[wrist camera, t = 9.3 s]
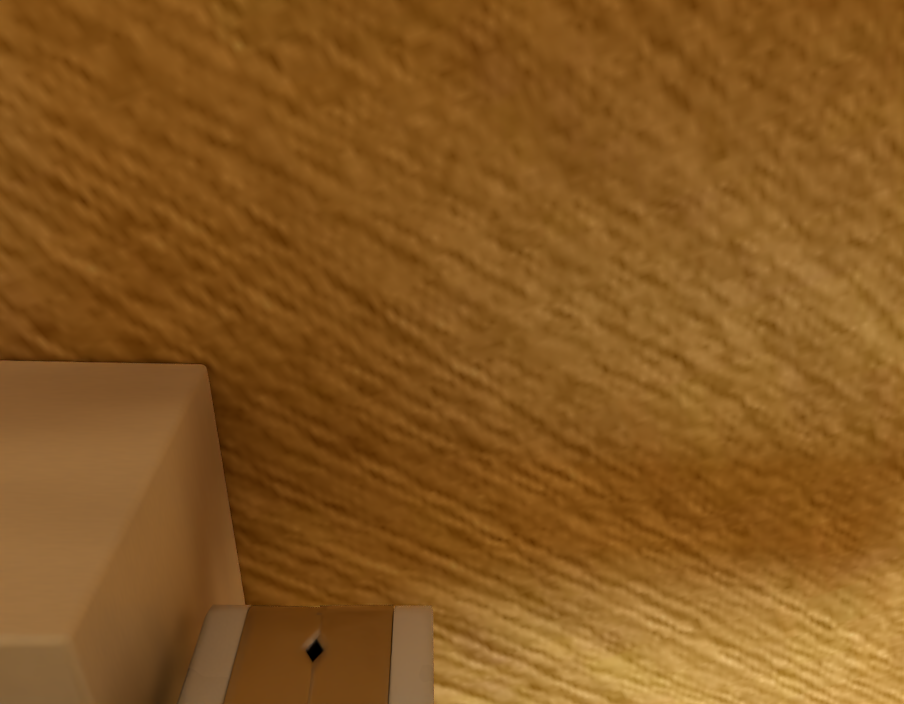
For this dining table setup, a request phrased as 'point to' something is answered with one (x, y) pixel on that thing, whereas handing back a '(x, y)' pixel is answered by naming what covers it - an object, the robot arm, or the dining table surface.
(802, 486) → the dining table surface
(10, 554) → the letter block
